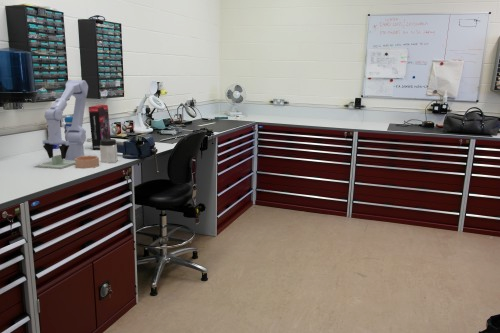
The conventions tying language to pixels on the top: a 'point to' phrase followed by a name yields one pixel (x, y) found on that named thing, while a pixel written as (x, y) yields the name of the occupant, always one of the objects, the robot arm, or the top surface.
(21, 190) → the top surface
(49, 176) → the top surface
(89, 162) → the bowl
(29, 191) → the top surface
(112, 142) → the jar
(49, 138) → the robot arm
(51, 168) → the mat
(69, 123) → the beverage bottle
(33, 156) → the top surface
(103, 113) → the graphics card box
